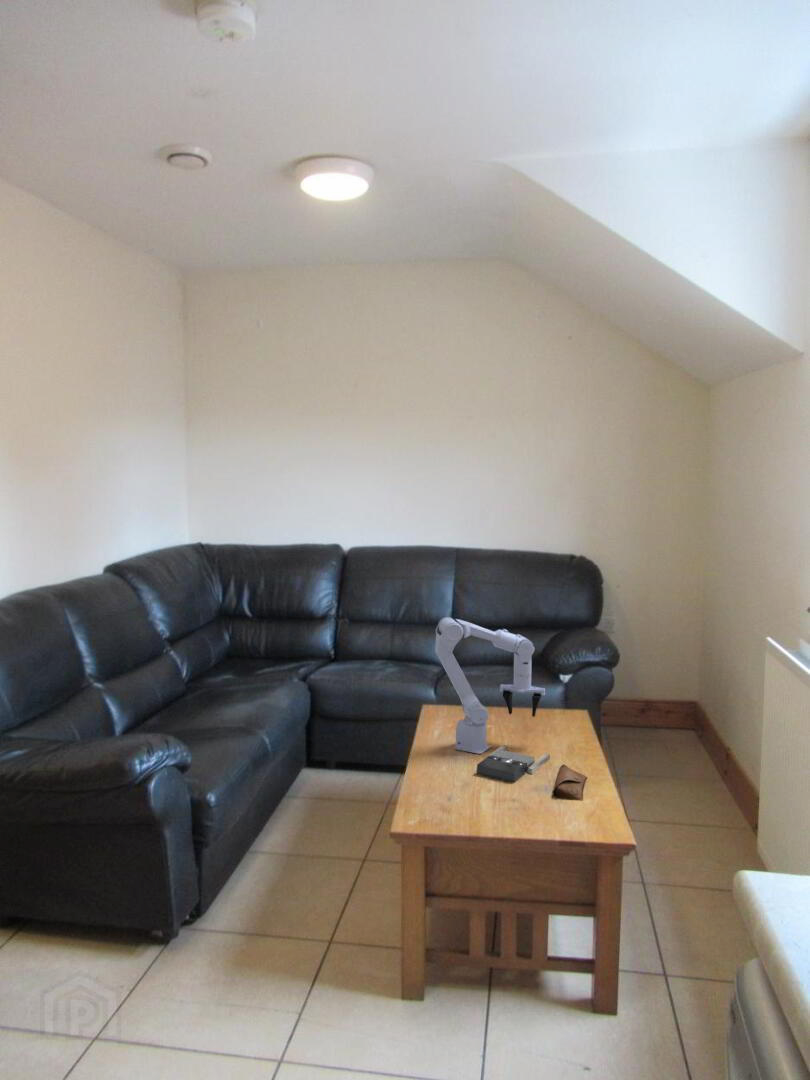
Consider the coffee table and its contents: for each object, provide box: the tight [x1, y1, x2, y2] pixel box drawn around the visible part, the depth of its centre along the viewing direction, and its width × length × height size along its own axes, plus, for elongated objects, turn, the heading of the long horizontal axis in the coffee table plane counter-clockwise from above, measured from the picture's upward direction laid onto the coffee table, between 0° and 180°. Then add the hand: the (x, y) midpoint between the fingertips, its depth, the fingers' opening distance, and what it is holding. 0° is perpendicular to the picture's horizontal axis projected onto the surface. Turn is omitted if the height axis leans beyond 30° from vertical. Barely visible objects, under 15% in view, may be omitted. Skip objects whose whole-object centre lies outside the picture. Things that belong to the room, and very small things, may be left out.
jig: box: [483, 744, 551, 775], centre depth 236 cm, size 16×14×2 cm
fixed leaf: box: [476, 755, 527, 784], centre depth 227 cm, size 12×9×3 cm
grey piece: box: [491, 749, 536, 774], centre depth 232 cm, size 12×9×3 cm
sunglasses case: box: [552, 764, 588, 802], centre depth 217 cm, size 18×7×7 cm, turn 164°
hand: (522, 714), depth 249 cm, fingers open, 7 cm apart
